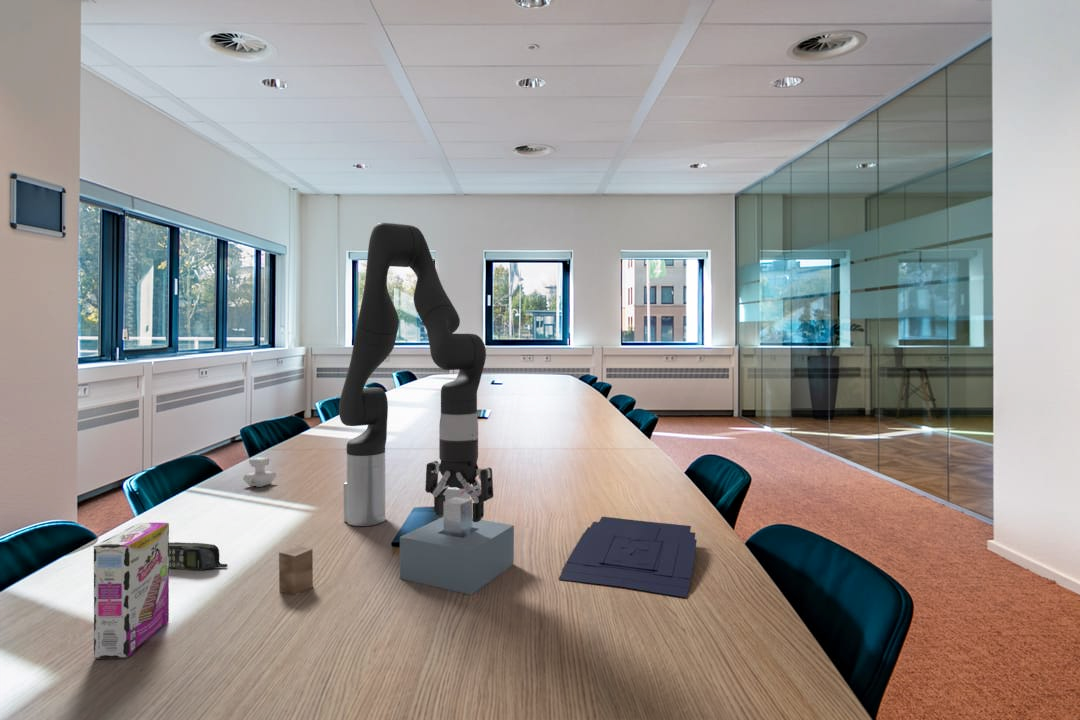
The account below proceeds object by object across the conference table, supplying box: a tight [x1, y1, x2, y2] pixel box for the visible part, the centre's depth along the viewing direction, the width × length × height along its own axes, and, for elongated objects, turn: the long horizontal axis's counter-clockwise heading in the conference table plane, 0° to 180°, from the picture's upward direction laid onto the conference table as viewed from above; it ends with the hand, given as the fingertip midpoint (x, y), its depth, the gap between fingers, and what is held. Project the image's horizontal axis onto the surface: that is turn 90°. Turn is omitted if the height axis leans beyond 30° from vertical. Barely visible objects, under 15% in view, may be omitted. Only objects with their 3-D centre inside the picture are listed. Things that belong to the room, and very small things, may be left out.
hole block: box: [399, 517, 515, 596], centre depth 116 cm, size 16×16×8 cm
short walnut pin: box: [278, 545, 314, 596], centre depth 108 cm, size 4×4×7 cm
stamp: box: [243, 456, 277, 488], centre depth 181 cm, size 9×7×8 cm
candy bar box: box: [93, 522, 170, 660], centre depth 89 cm, size 11×5×16 cm, turn 5°
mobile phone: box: [169, 541, 229, 571], centre depth 117 cm, size 5×3×15 cm
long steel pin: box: [444, 497, 473, 538], centre depth 116 cm, size 4×4×14 cm
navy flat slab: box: [558, 516, 697, 598], centre depth 123 cm, size 24×30×4 cm
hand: (458, 517), depth 116 cm, fingers open, 8 cm apart
